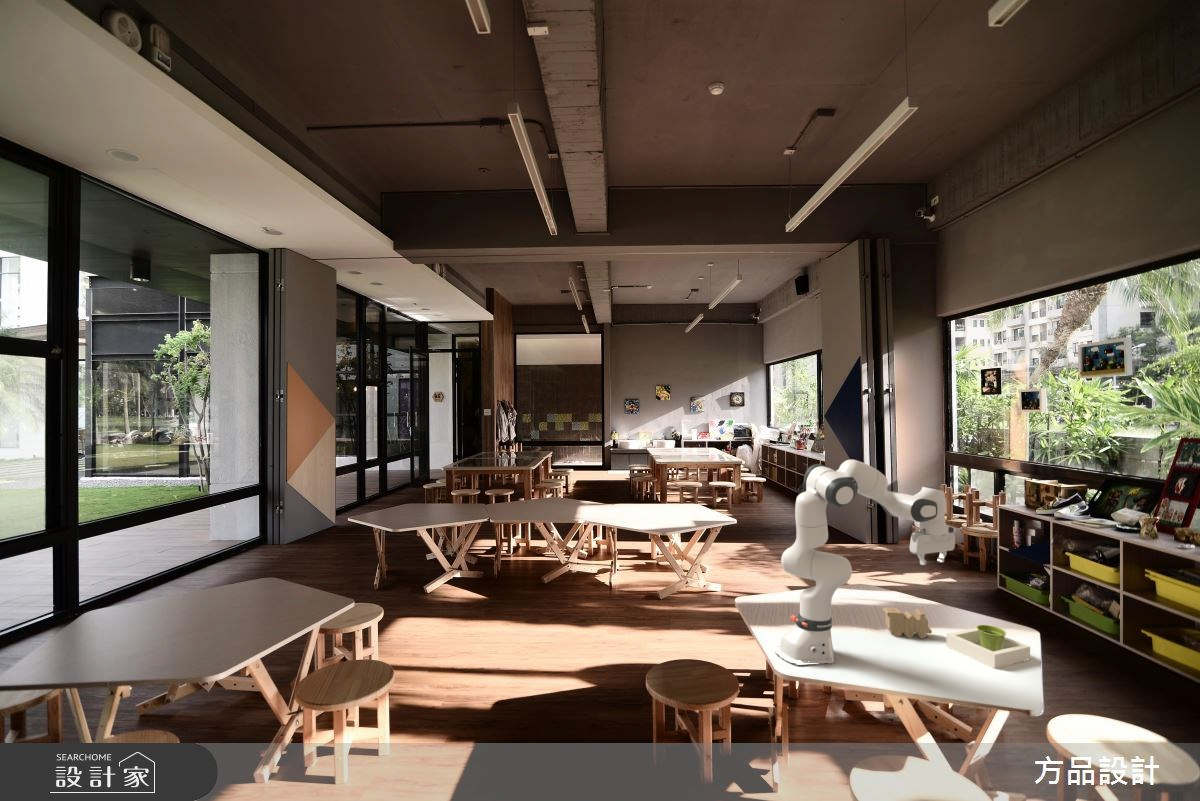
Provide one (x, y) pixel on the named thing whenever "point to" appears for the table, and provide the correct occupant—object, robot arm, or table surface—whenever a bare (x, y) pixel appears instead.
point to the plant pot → (991, 637)
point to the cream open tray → (1005, 656)
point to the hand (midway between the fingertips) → (932, 563)
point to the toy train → (906, 622)
